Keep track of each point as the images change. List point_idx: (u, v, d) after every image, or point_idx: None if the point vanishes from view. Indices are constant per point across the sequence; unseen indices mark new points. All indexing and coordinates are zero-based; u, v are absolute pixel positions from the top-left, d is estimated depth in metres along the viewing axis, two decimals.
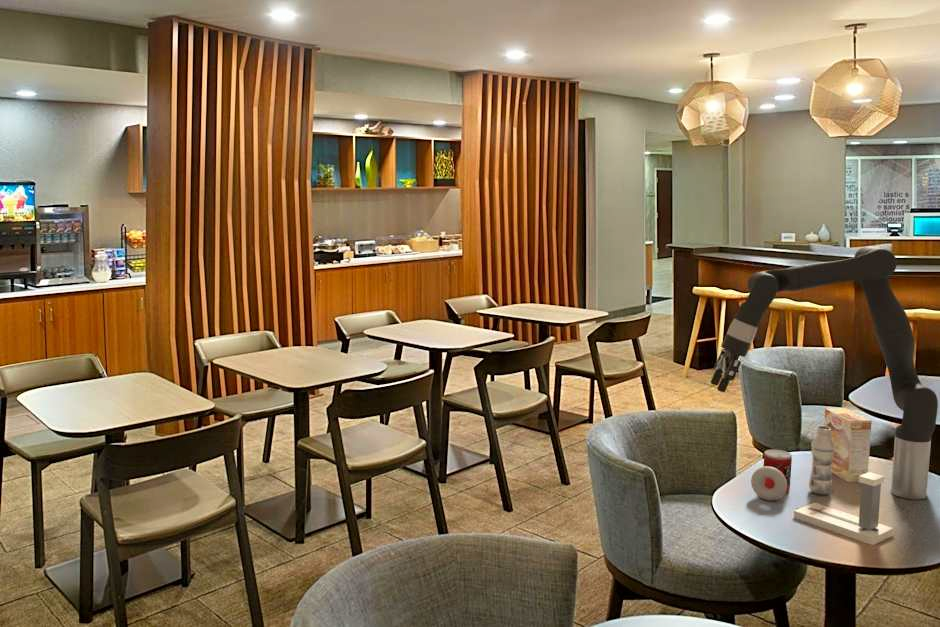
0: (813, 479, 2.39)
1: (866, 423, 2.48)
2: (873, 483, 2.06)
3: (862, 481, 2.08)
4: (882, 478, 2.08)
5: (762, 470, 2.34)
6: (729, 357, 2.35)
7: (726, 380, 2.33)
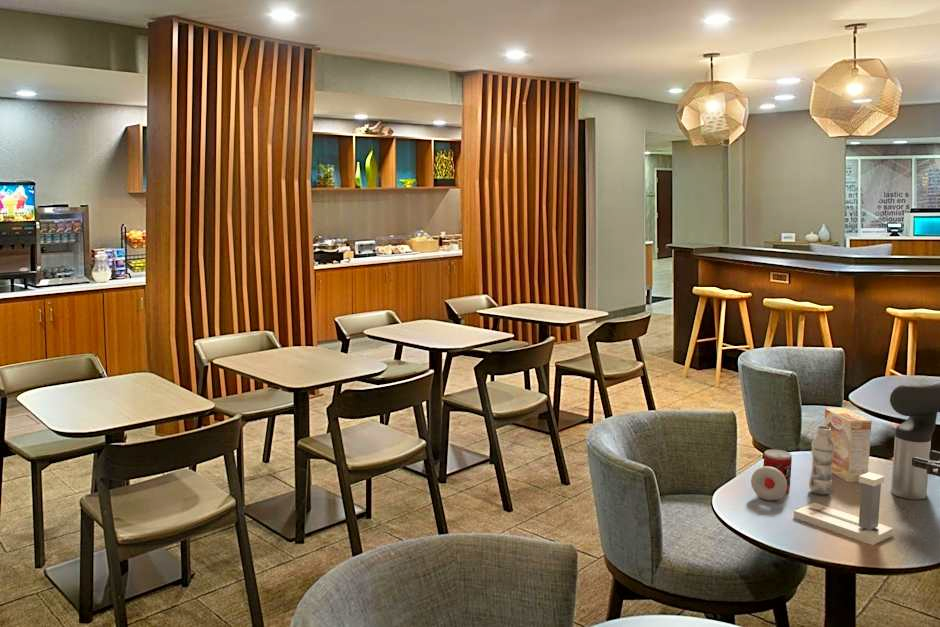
0: (813, 479, 2.39)
1: (866, 423, 2.48)
2: (873, 483, 2.06)
3: (862, 481, 2.08)
4: (882, 478, 2.08)
5: (762, 470, 2.34)
6: None
7: None
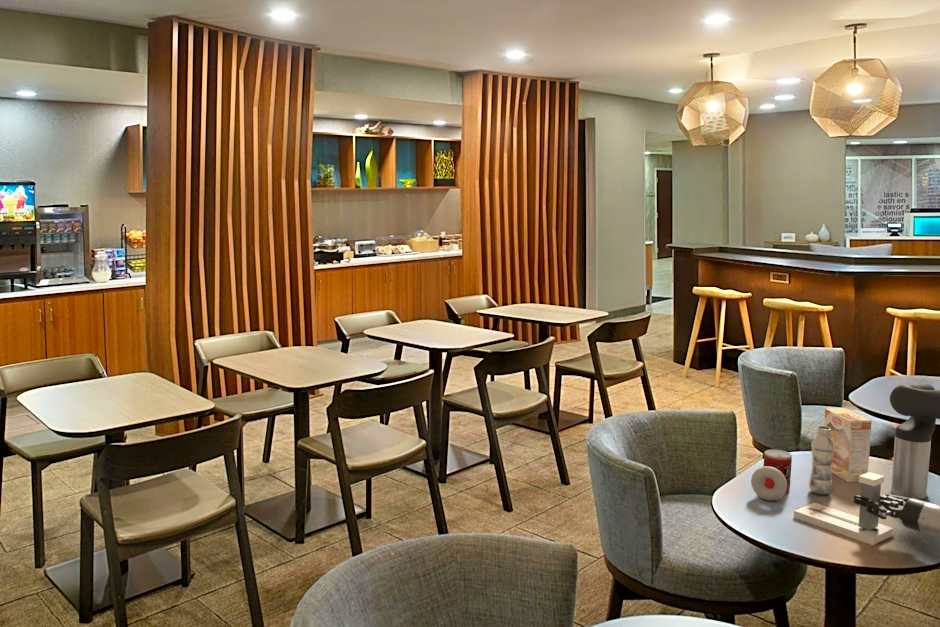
0: (813, 479, 2.39)
1: (866, 423, 2.48)
2: (873, 483, 2.06)
3: (862, 481, 2.08)
4: (882, 478, 2.08)
5: (762, 470, 2.34)
6: None
7: None
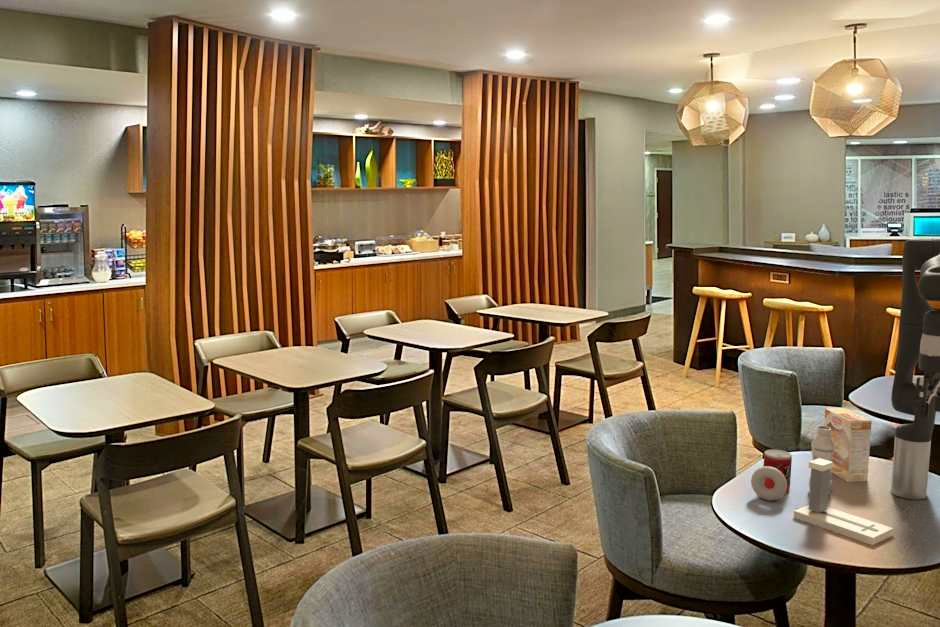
0: None
1: (866, 423, 2.48)
2: (821, 468, 2.17)
3: (811, 466, 2.19)
4: (831, 463, 2.19)
5: (762, 470, 2.34)
6: None
7: None
